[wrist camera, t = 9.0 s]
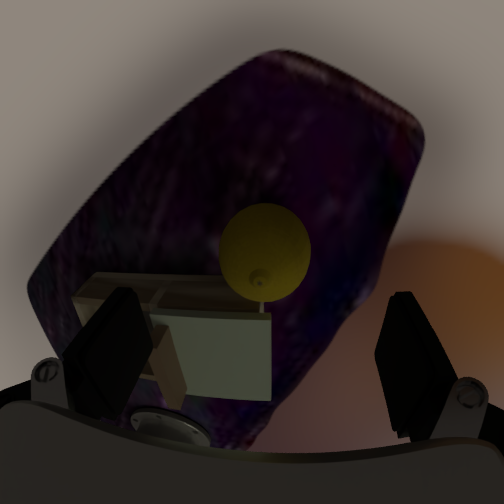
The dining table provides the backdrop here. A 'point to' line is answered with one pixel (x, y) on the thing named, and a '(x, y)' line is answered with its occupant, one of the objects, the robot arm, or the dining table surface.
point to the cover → (211, 354)
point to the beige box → (162, 296)
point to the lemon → (264, 252)
